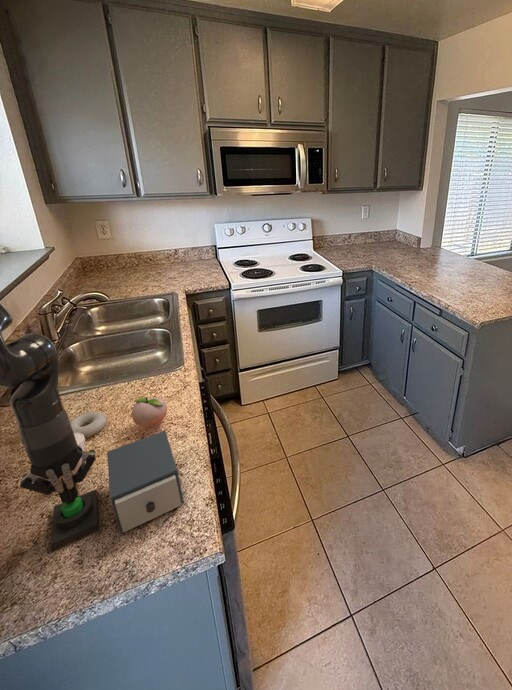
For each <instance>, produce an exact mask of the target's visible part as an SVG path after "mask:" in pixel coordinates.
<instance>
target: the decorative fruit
mask: <svg viewBox="0 0 512 690" xmlns="http://www.w3.org/2000/svg"><path fill="white" fill-rule="evenodd" d="M134 403H135V404H134V405H133V408H132V410H131V417H132V420H133V422H134V423H135V425H137V426H139V427H141V428H153V427H157V426H158V425H160V424H161V423H162V422H163V420H164V419H165V418H166V416H167V414H168V405H167V403H166V401H165V400H164V399H162V398H160V397H151V398H150V397H148V396H146V397H144V396H142V397H137V398H136V399H134Z"/></svg>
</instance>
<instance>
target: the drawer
mask: <svg viewBox="0 0 512 690" xmlns="http://www.w3.org/2000/svg"><path fill="white" fill-rule="evenodd" d="M115 506H116V509H117V513H118V516H119V520H120V523H121V527H122V530H123V532H122V533H126V532H128V531H130V530H133V529H135V528H137V527H138V526H141V525H143V524H145V523H147V522H149V521H152V520H154V519H155V518H158V517H160V516H162V515H164V514H166V513H168V512H170V511H173V510H174V509H176V508H179V507H181V506H182V504H181V500H180V496H179V491H178V486H177V481H176V477H175V475H172V476H168V477H166V478H164V479H161V480H159V481H157V482H154V483H152V484H150V485H147V486H145V487H143V488H140V489H138V490H136V491H133V492H131V493H129V494H126V495H124V496H122V497H119V499H116V500H115Z"/></svg>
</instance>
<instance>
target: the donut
mask: <svg viewBox="0 0 512 690" xmlns="http://www.w3.org/2000/svg"><path fill="white" fill-rule="evenodd" d="M70 423H71V427H72V430H73V433H81V434H83V435H84V438H85V439H88V438H91V437H93V436H95V435H97V434H98V433H99V432H101V431H102V430H103V429H104V427H105V426H106V423H107V417H106V415H105V414H104V413H103V412H102V411H101V412H100V411H97V410H96V411H89V412H84V413H82V414H79V415H77V416H75V417H74V418H73V419H71V420H70Z"/></svg>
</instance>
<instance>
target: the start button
mask: <svg viewBox="0 0 512 690" xmlns="http://www.w3.org/2000/svg"><path fill="white" fill-rule="evenodd" d="M62 503H63V502H62ZM82 508H83V502H82V499H81V497H79V496H78V497H77V498H75V501H74V502H72V503H69V504H66V502H65V503H63V504H62V506H61V511H62V513H63V516H64V517H72V516H74V515H76V514H77V513H79V512H80V511H81V510H82Z"/></svg>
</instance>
